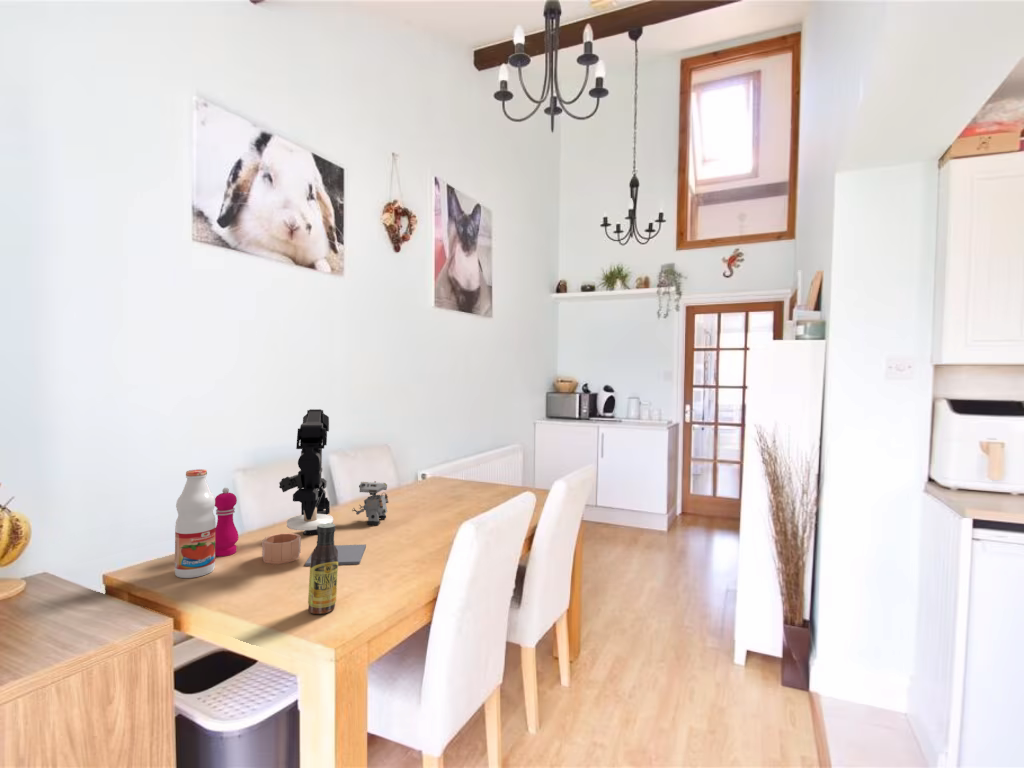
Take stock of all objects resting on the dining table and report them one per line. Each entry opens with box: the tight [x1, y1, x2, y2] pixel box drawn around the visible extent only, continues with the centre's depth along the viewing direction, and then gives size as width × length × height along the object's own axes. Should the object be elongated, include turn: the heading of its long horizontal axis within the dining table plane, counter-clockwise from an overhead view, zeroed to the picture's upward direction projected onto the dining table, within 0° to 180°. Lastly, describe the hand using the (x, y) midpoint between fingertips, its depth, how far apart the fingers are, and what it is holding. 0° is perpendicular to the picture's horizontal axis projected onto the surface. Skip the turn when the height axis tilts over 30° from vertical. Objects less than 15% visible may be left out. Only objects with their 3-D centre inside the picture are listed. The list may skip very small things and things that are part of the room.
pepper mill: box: [214, 487, 239, 557], centre depth 154 cm, size 7×7×20 cm
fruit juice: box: [174, 468, 217, 579], centre depth 139 cm, size 9×9×28 cm
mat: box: [305, 544, 367, 567], centre depth 154 cm, size 15×15×1 cm
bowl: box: [261, 532, 302, 565], centre depth 151 cm, size 10×10×6 cm
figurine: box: [351, 480, 389, 526], centre depth 190 cm, size 9×12×15 cm
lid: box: [286, 507, 334, 531], centre depth 152 cm, size 13×13×5 cm
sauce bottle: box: [307, 523, 339, 615], centre depth 119 cm, size 6×6×20 cm
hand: (310, 517), depth 152 cm, fingers closed on lid, 4 cm apart
